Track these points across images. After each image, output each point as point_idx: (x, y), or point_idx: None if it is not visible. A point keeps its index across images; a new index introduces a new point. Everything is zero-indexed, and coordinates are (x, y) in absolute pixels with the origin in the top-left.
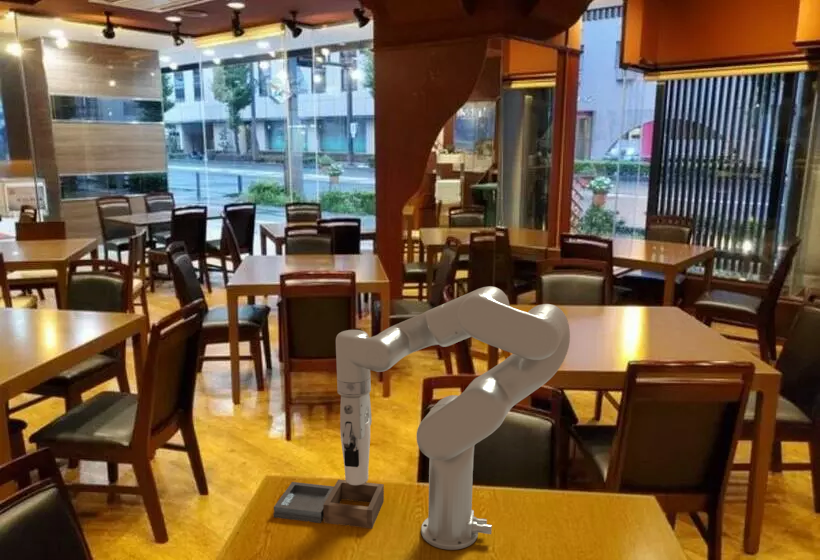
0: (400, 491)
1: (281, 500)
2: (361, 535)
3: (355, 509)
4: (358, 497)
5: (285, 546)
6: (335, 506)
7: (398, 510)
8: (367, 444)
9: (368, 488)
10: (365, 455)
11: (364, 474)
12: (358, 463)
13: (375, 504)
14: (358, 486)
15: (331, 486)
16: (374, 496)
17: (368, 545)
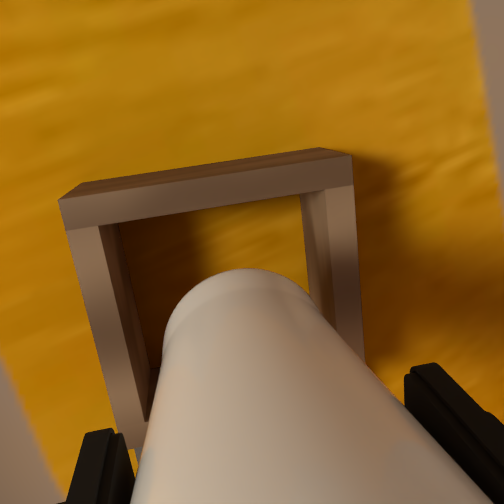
0: None
1: None
2: (377, 172)
3: (356, 245)
4: (132, 304)
5: (497, 395)
6: (362, 344)
7: (128, 75)
8: (390, 469)
9: (114, 274)
10: (356, 380)
11: (294, 296)
12: (444, 377)
13: (272, 165)
14: (126, 330)
15: (136, 451)
16: (214, 198)
17: (435, 114)
